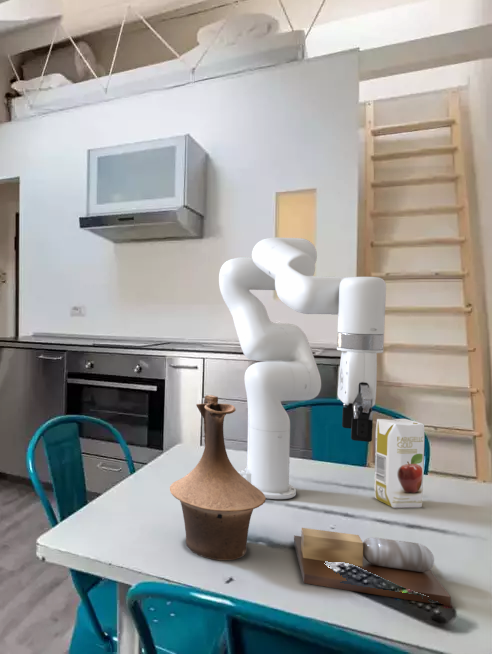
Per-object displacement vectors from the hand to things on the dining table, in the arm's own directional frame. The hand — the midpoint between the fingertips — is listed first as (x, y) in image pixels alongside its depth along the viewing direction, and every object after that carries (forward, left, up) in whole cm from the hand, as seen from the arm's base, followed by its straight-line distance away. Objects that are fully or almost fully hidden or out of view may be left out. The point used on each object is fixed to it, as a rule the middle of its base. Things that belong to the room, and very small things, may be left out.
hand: (356, 434), depth 102 cm
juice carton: (+14, +29, -21) cm, 39 cm away
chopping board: (-1, -11, -21) cm, 24 cm away
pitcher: (-25, -10, -21) cm, 34 cm away
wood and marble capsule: (0, -11, -20) cm, 22 cm away
